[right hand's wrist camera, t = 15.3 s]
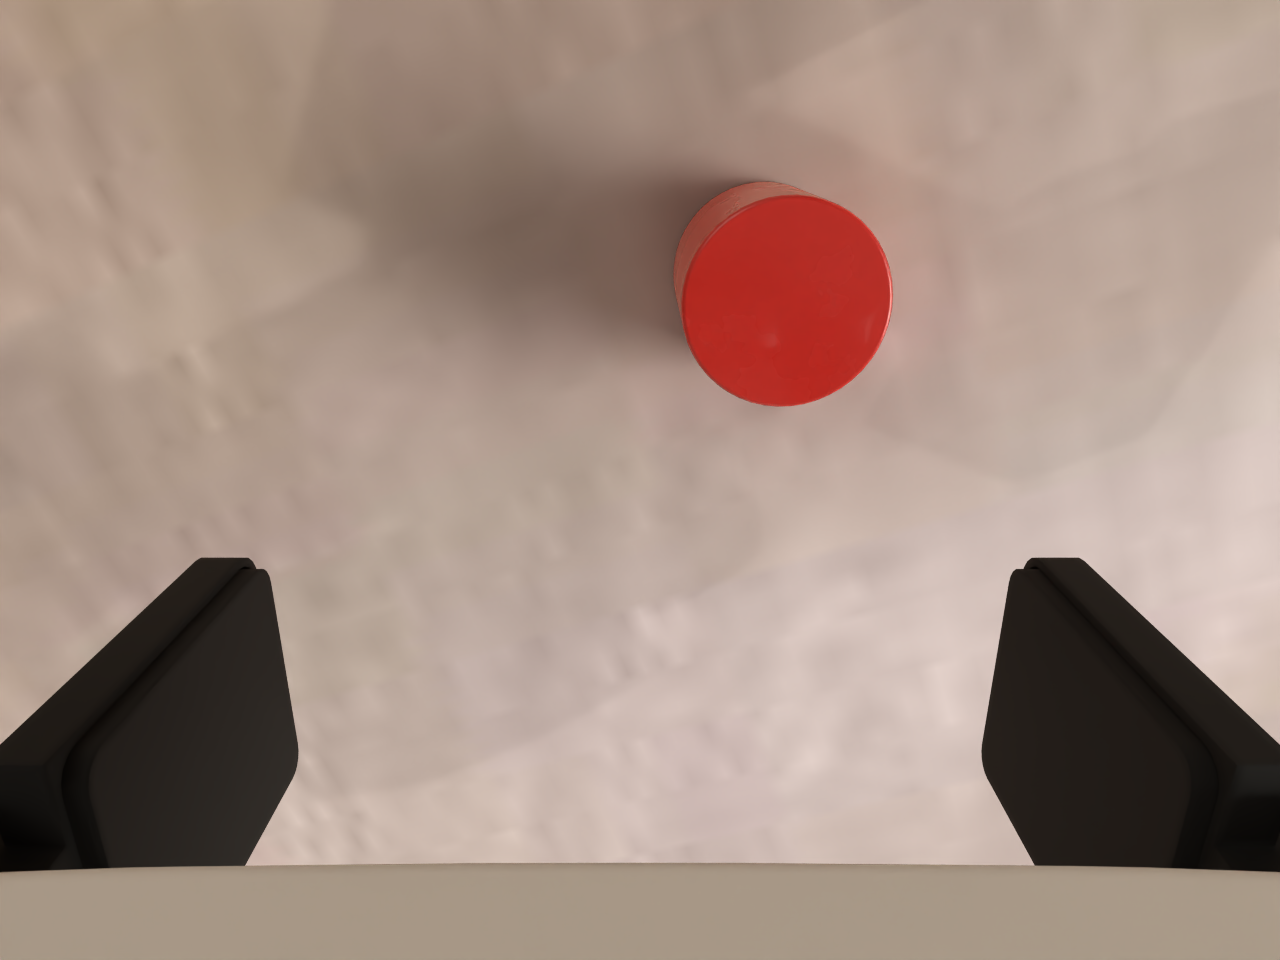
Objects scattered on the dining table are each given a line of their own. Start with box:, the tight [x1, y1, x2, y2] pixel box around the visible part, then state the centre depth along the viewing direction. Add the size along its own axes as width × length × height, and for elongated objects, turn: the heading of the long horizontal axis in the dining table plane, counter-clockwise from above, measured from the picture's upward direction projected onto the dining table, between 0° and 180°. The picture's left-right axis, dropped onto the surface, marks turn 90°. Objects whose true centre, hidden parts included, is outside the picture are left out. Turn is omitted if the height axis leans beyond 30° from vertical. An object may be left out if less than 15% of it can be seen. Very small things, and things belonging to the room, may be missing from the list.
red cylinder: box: [673, 182, 893, 406], centre depth 18 cm, size 4×4×4 cm
